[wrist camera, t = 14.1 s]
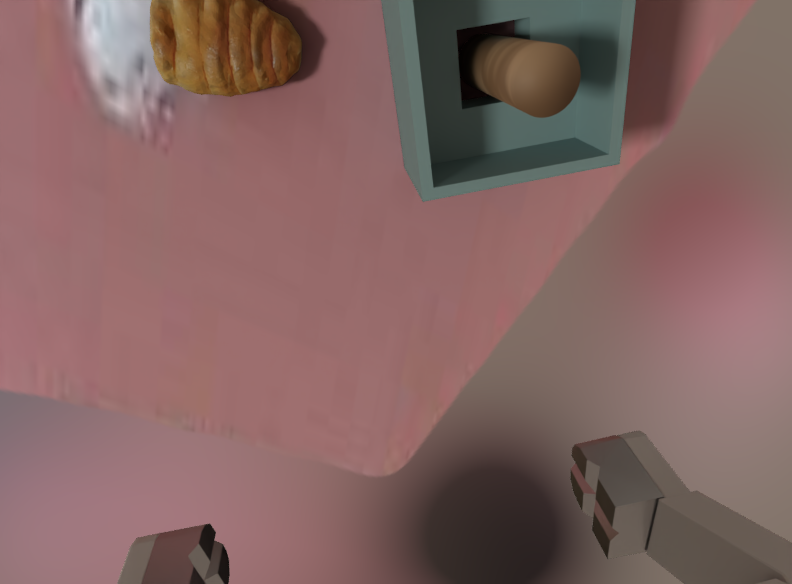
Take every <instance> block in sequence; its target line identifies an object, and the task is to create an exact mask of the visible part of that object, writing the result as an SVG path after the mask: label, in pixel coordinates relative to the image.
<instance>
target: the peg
mask: <svg viewBox="0 0 792 584" xmlns="http://www.w3.org/2000/svg"><path fill="white" fill-rule="evenodd" d="M458 59H459V73H460V75H461V77H462V79H463V80H464V81H465V82H466V83H467V84H469V85H471V86H473V87H475V88H477V89H479V90H481V91H483V92H485V93H487V94H489V95H491V96H493V97H495V98H497V99H499V100H501V101H503V102H505V103H507V104H509V105H511V106H513V107H515V108H517V109H519V110H521V111H523V112H525V113H527V114H529V115H531V116H533V117H537V118H546V117H550V116H553V115H556V114H557V113H559V112H561V111H562V110H563V109H565V108H566V107H567V106H568V105H569V104H570V102H571V101H572V100H573V98H574V96H575V95H576V92H577V90H578V87H579V84H580V77H581V70H580V65H579V61H578V59H577V57H576V55H575V54H574V53H573V52H572V51H571V50H570V49H569V48H568V47H566V46H564V45H561V44H556V43H549V42H542V41H535V40H528V39H521V38H514V37H507V36H500V35H493V34H484V33H483V34H478V35H475V36H473V37H471V38H470V39H469V40H468V41H467V42H466V43H465V44H464V45H463V47H462V48H461V51H460V53H459V57H458Z"/></svg>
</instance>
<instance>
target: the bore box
mask: <svg viewBox="0 0 792 584" xmlns="http://www.w3.org/2000/svg"><path fill="white" fill-rule="evenodd" d="M381 2H382V9H383V16H384V24H385V31H386V38H387V45H388V52H389V59H390V67H391V74H392V81H393V88H394V95H395V103H396V110H397V117H398V124H399V131H400V139H401V146H402V153H403V160H404V167H405V169H406V171H407V173H408V175H409V177H410V179H411V181H412V182H413V184H414V186H415V188H416V190H417V192H418V194H419V195H420V197H421V199H422V201H423V202H424V201H429V200H434V199H439V198H445V197H450V196H455V195H460V194H465V193H471V192H476V191H481V190H486V189H492V188H497V187H502V186H507V185H513V184H518V183H523V182H528V181H533V180H539V179H544V178H549V177H554V176H560V175H565V174H570V173H575V172H580V171H586V170H591V169H596V168H601V167H607V166H612V165H617V164H620V154H621V144H622V134H623V124H624V114H625V104H626V94H627V84H628V74H629V64H630V53H631V43H632V33H633V23H634V13H635V3H636V0H381ZM511 20H514V24H515V38H521V39H528V40H535V41H542V42H549V43H556V44H561V45H564V46H566V47H568V48H569V49H570V50H571V51H572V52H573V53H574V54H575V55H576V57H577V59H578V61H579V65H580V70H581V77H580V84H579V87H578V90H577V92H576V95H575V96H574V98H573V100H572V101H571V102H570V104H569V105H568V106H567V107H566V108H565V109H563V110H562V111H561V112H559V113H557V114H556V115H553V116H550V117H546V118H537V117H533V116H531V115H529V114H527V113H525V112H523V111H521V110H519V109H517V108H515V107H513V106H511V105H509V104H507V103H505V102H503V101H501V100H499V99H497V98H495V97H493V96H491V95H490V96H484V97H479V98H473V99H468V100H462V101H461V88H460V73H459V59H458V45H457V31H456V30H460V29H465V28H471V27H477V26H482V25H488V24H494V23H499V22H505V21H511Z"/></svg>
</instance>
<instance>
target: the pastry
mask: <svg viewBox="0 0 792 584" xmlns="http://www.w3.org/2000/svg"><path fill="white" fill-rule="evenodd" d="M150 41H151V45H152V48H153V51H154V60H155V64H156V67H157V69H158V71H159V73H160V74H161V76H162V78H163V79H164V81H166V82H167V83H169V84H174V85H178V86H181V87H183V88H184V89H186V90H188V91H191V92H193V93H197V94H201V95H202V94H214V95H223V96H234V95H242V94H247V93H250V92H255V91H260V90H262V89H266V88H269V87H274V86H281V85H283V84H284V83H286V81H288V80H289V79H290V78H291V77H292V75H293V74H295V73H296V72H298V70H299V68H300V64H301V49H302V41H301V38H300V36H299V35H298V33H297V32H296V30H295V29H294V27H293V26H292V24H291V22H290V21H289V19H287V18H286V17H284V16H282V15H280V14H278V13H276V12H274V11H272V10H271V9H269V8H268V7H266V6H265V5H264V4H263V3H262V2H260V1H257V0H152V2H151V6H150Z"/></svg>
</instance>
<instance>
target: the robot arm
mask: <svg viewBox="0 0 792 584" xmlns="http://www.w3.org/2000/svg"><path fill="white" fill-rule="evenodd" d="M572 458H573V459H574V461H575V464H574V465H573V467H572V468H571V470H570V480H571V484H572V489H573V492H574V495H575V497H576V500H577V502H578V504H579V506H580V508H581V510H582V512H584V513H586V514H587V515H589V516H590V517H592V518H593V525H592V531H593V533H594V535H595V536H596V539H597V540H598V542H599V544H600V546H601V548H602V550H603V551H604V554H605V555H606V557H607V559H611V558H617V557H621V556H627V555H632V554H637V553H642V552H647V555H648V556H650V557H651V558H652V559H653V560H655V561H656V562H657V563H659V564H660V565H661V566H662V567H664V568H665V569H666V570H667V571H669V572H670V573H671V574H672V575H674V576H675V577H676V578H677V579H679V580H680V581H681V582H683V583H684V584H792V543H791V542H789V541H788V540H786V539H784V538H782V537H780V536H779V535H777V534H775V533H773V532H771V531H770V530H768V529H766V528H764V527H762V526H760V525H758V524H756V523H755V522H753V521H751V520H749V519H748V518H746V517H744V516H742V515H740V514H738V513H737V512H735V511H733V510H731V509H729V508H728V507H726V506H724V505H722V504H720V503H719V502H716V501H715V500H713V499H711V498H709V497H708V496H706V495H704V494H702V493H700V492H699V491H693V492H690V491H689V489H688V488H687V487H686V486H685V484H684V483H683V482H682V481H681V479H680V478H679V477H678V476H677V474H676V473H675V472H674V471H673V469H672V468H671V466H670V465H669V464H668V463H667V461H666V460H665V459H664V458H663V457H662V455H661V454H660V452H659V451H658V450H657V448H656V447H655V446H654V445H653V443H652V442H651V441H650V440H649V438H648V437H647V436H646V434H644V433H643V432H641V431H634V432H630V433H625V434H622V435H617V436H616V435H613V436H609V437H605V438H600V439H596V440H592V441H587V442H583V443H579V444H575V445H574V446H573V448H572ZM215 534H216V532H215V530H214V529H213V528H212V526H211V524H205V525H200V526H194V527H189V528H184V529H179V530H174V531H169V532H164V533H158V534H153V535H148V536H144V537H139V538H136V540H135V541H134V543H133V544H132V545H131V547H130V549H129V552H128V555H127V557H126V560H125V563H124V566H123V569H122V572H121V574H120V577H119V580H118V583H117V584H228V583H229V576H230V574H229V558H228V555H227V551H226V549H225V547H224V545H223V544H221V543H219V542H217V541H214V539H215Z"/></svg>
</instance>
